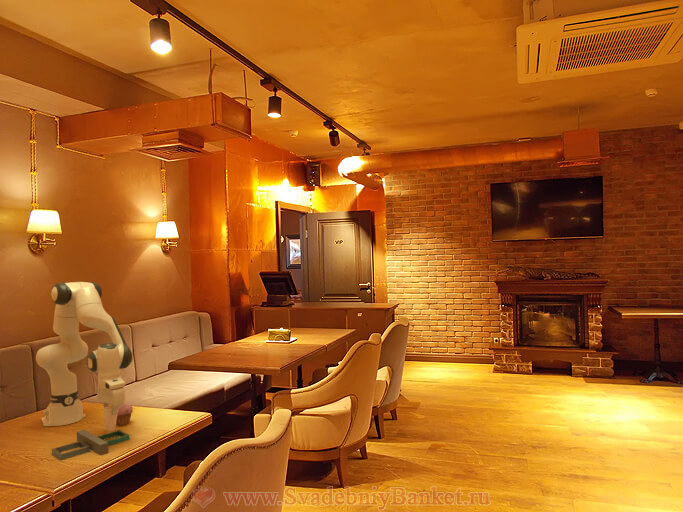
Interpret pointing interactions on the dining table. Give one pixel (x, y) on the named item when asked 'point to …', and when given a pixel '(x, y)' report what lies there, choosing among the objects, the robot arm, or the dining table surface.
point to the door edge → (93, 442)
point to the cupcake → (124, 414)
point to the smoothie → (109, 418)
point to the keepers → (86, 448)
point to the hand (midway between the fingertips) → (110, 413)
